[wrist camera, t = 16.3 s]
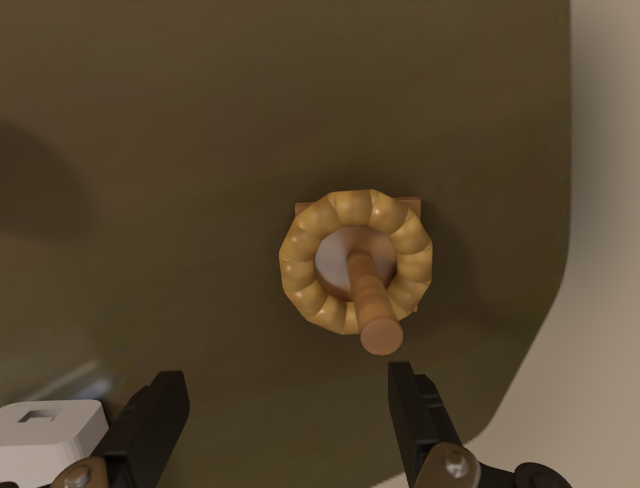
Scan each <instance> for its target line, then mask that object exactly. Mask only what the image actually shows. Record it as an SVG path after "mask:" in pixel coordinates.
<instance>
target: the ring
mask: <svg viewBox="0 0 640 488" xmlns="http://www.w3.org/2000/svg"><path fill="white" fill-rule="evenodd" d="M361 225H367V226H369V227H371V228H373V229H375V230H377V231H379V232H381V233H384V234H386V235H387V237H388V238H389V240H390V241H391V243H392V245H393V246H394V248H395V249H396V251H397V273H396V274H395V276H394V278H393V280H392V281H391V283H390V285H389V286H388V288H387V290H386V293H387V295H388V297H389V300H390V302H391V304H392V307H393V309H394V312H395V314H396V316H397V319H398V321H399V320H401V319H403V318H405V317H406V316H408V315H409V314H411V313H412V311H413V310H414V308H415V307H416V305H417V304H418V302H419V301H420V299H421V297H422V296H423V294H424V293H425V291H426V290H427V288H428V286H429V285H430V283H431V279H432V249H433V247H432V241H431V239H430V237H429V236H428V234H427V232H426V231H425V229H424V227H423V226H422V224H421V222H420V221H419V219H418V217H417V216H416V214H415V213H414V211H413V210H412V209H411V208H410V207H409V206H407V205H405V204H403V203H401V202H399V201H397V200H395V199H393V198H391V197H389V196H387V195H385V194H383V193H381V192H379V191H376V190H373V189H366V190H353V191H339V192H332V193H329V194H327V195H326V196H324V197H323V198H321V199H320V200H318V201H317V202H315V203H314V204H312V205H311V206H309V207H308V208H307V209H305V210H304V211H302V212H301V213H299V214H298V215H297V216H296V217H295V219H294V221H293V223H292V225H291V227H290V229H289V231H288V233H287V235H286V238H285V240H284V242H283V244H282V246H281V248H280V251H279V260H280V269H281V277H282V285H283V290H284V292H285V294H286V295H287V296H288V298H289V299H290V300H291V301H292V303H293V304H294V305H295V307H296V308H297V309H298V310H299V312H300V313H301V314H302V315H303V317H304V318H305V319H306V320H308V321H309V322H311V323H314V324H316V325H318V326H321V327H323V328H325V329H328V330H330V331H333V332H335V333H337V334H341V335H348V334H359V329H358V323H357V318H356V313H355V308H354V303H353V302H344V301H342V300H340V299H338V298H335V297H333V296H331V295H329V294H327V293H326V292H325V291H324V289H323V288H322V287H321V285H320V284H319V283H318V281H317V280H316V279H315V274H314V262H313V258H314V256H315V254H316V252H317V250H318V248H319V246H320V244H321V242H322V240H323V239H324V238H326V237H327V236H329V235H331V234H332V233H334V232H335V231H337V230H338V229H340V228H341V227H347V226H361Z"/></svg>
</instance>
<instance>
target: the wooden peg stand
mask: <svg viewBox="0 0 640 488" xmlns="http://www.w3.org/2000/svg"><path fill="white" fill-rule="evenodd" d="M393 199H395V200H397V201H399V202H401V203H403V204H405V205H407V206H409V207H410V208H411V209H412V210H413V211H414V213H415V214H416V216H417V217H418V219H419V221H420V210H421V199H419V198H418V197H416V196H415V197H398V198H393ZM314 203H315V202H309V203H296V205H295V214H296V216H297V215H298V214H299V213H301V212H302V211H304V210H305V209H307V208H308V207H309V206H311V205H312V204H314ZM313 262H314V274H315V279H316V280H317V281H318V283H319V284H320V285H321V287H322V288H323V289H324V291H325V292H326V293H327V294H329V295H331V296H333V297H335V298H338V299H340V300H342V301H344V302H353V303H354V308H355V313H356V318H357V323H358V329H359V334H360V339H361V343H362V345H363V347H364V348H365V349H366V350H367V351H369V352H370V353H372V354H375V355H387V354H390V353H392V352H394V351H395V350H396V349H398V347H399V346H400V345H401V343H402V340H403V331H402V328H401V326H400V323H399V321H398V319H397V316H396V314H395V312H394V309H393V307H392V304H391V302H390V300H389V297H388V295H387V293H386V290H387V288H388V286H389V285H390V283H391V281H392V280H393V278H394V276H395V274H396V273H397V251H396V249H395V248H394V246H393V245H392V243H391V241H390V240H389V238H388V237H387V235H386V234H384V233H381V232H379V231H377V230H375V229H373V228H371V227H369V226H367V225H361V226H347V227H341V228H340V229H338V230H337V231H335V232H334V233H332V234H331V235H329V236H327V237H326V238H324V239H323V240H322V242H321V244H320V246H319V248H318V250H317V252H316V254H315V256H314V258H313ZM412 312H417V305H416V307H415V308H414V310H413V311H412Z"/></svg>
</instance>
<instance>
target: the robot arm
mask: <svg viewBox="0 0 640 488" xmlns="http://www.w3.org/2000/svg"><path fill="white" fill-rule="evenodd" d="M388 401H389V408H390V413H391V417H392V421H393V425H394V429H395V433H396V437H397V441H398V445H399V449H400V453H401V457H402V461H403V465H404V469H405V473H406V477H407V481H408V485H409V488H572V487H571V485H570V484H569V483H568V482H567V481H566V480H565V479H564V478H563V477H562V476H561V475H560V474H558V473H557V472H556V471H554V470H553V469H551V468H549V467H547V466H545V465H541V464H538V463H532V462H527V463H522V464H520V465H519V466H518V467H517V468H516V469H515V472H514V473H512V472H508V471H505V470H501V469H497V468H493V467H490V466H487V465H485V464H483V463H481V462H479V461H477V459H476V457H475V456H474V455H473V454H472V453H471V452H470V451H469V450H468V449H466V448H465V447H463V445H462V443H461V441H460V439H459V437H458V435H457V433H456V430H455V428H454V426H453V424H452V422H451V419H450V417H449V415H448V413H447V411H446V408H445V407H444V404H443V402H442V400H441V398H440V395H439V393H438V391H437V389H436V386H435V384H434V383H433V382H432V381H431V380H430V379H429V378H428V377H427V376H426V375H425V374H418V375H414V373H413V370H412V368H411V365H410V363H409V361H391V362H389V363H388ZM189 410H190V402H189V397H188V393H187V388H186V384H185V379H184V375H183V372H182V371H180V370H179V371H161V372H159V373H158V375H157V376H156V377H155V379H154V380H153V382H152V383H151V385H150V386H144V387H143V388H142V389H141V390H140V391H138V392H137V393H136V394H135V395H133V396H132V398H131V399H130V400H129V402H128V403H127V404H126V406H125V407H124V410H122V411H121V413H120V414H119V416H118V417H117V420H115V421H114V422H113V424H112V425H111V427H110V428H109V429H108V431H107V432H106V433H105V435H104V436H103V438H102V439H101V440H100V442H99V443H98V445H97V446H96V447H95V449H94V450H93V451H92V453H91V454H90V456H89V457H86V458H83V459H80V460H78V461H76V462H74V463H72V464H71V465H69V466H68V467H66V468H65V469H64V470H63V471H62V472H61V473H59V475H58V476H57V477H56V478H55V479H54V481H53V482H52V483H50V484H47V485H44V486H41V487H37V488H155V487H156V485H157V483H158V481H159V479H160V476H161V474H162V472H163V470H164V468H165V466H166V464H167V462H168V459H169V457H170V455H171V453H172V451H173V449H174V447H175V445H176V443H177V440H178V438H179V436H180V434H181V432H182V430H183V428H184V426H185V423H186V421H187V419H188V416H189ZM0 488H19V486H18V485H17V483H15V482H12V481H6V482H1V483H0Z"/></svg>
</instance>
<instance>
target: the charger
mask: <svg viewBox="0 0 640 488" xmlns="http://www.w3.org/2000/svg"><path fill="white" fill-rule="evenodd" d="M108 429H109V427H108V424H107V420H106V417H105V414H104V411H103V407H102V404H101V402H100V401H98V400H91V399H85V400H56V401H27V402H18V403H13V404H10V405H7V406H4V407H2V408H1V409H0V483H1V482H6V481H12V482H15V483H17V485H18V486H19V488H37V487H41V486H44V485H47V484H50V483H52V482H53V481H54V479H55V478H56V477H57V476H58V475H59V473H61V472H62V471H63V470H64V469H65V468H66V467H68V466H69V465H71V464H72V463H74V462H76V461H78V460H80V459H83V458H86V457H89V456H90V454H91V453H92V451H93V450H94V449H95V447H96V446H97V445H98V443H99V442H100V440H101V439H102V438H103V436H104V435H105V433H106V432H107V431H108Z"/></svg>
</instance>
